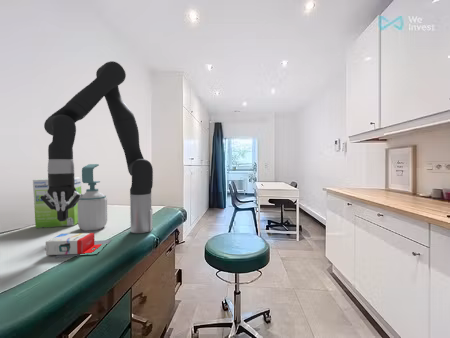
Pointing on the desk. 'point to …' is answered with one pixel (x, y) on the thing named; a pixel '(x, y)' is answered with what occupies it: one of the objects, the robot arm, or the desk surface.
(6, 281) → the desk surface
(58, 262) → the desk surface
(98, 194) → the soap bottle
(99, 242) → the mat
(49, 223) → the toothbrush box
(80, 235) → the ink box
